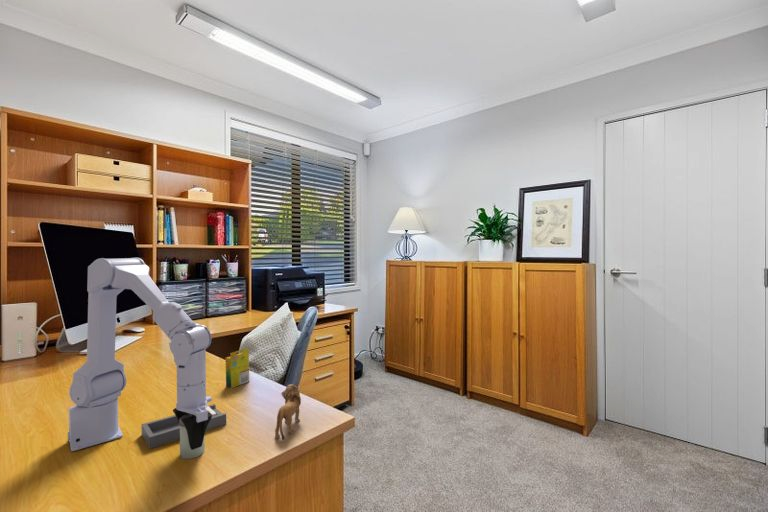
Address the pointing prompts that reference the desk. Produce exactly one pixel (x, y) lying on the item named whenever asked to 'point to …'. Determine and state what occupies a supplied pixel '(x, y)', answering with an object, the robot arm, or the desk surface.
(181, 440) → the jar
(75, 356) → the desk surface
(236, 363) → the crayon box
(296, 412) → the lion figurine
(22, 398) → the desk surface
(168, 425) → the pusher lane
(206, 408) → the pusher
